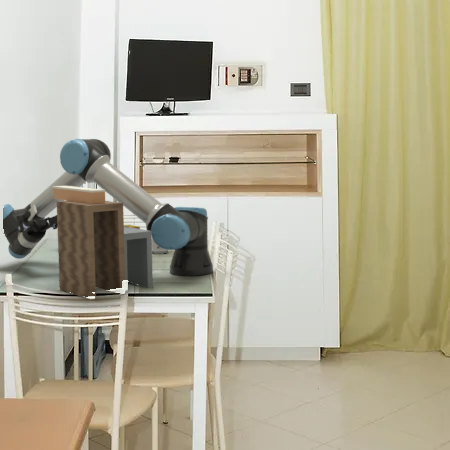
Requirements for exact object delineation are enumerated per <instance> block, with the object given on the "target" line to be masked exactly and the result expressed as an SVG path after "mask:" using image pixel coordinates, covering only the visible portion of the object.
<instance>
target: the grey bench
mask: <svg viewBox="0 0 450 450" xmlns="http://www.w3.org/2000/svg"><path fill="white" fill-rule="evenodd" d="M124 255H125V280H128V281H129V282H128V283H131V284H135V285H137V284H138V285H139V286H142V287H144V286H145V288H153V286H154V284H153V283H154V282H153V281H154V280H153V279H154V278H153V253H152V231H149V230H146V229H142V228H140V229H137V228H131V227H125V226H124Z"/></svg>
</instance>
